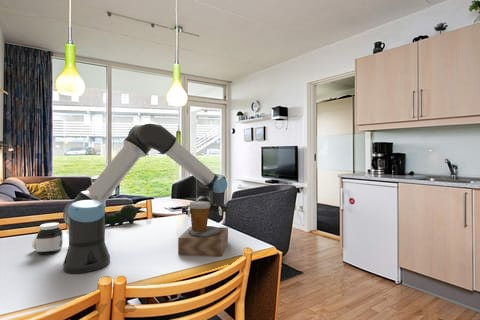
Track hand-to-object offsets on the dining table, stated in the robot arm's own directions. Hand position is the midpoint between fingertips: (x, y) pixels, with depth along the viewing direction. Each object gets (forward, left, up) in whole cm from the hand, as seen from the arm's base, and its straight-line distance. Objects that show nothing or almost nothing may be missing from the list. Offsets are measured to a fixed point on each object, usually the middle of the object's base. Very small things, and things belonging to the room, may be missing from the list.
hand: (205, 213), depth 116 cm
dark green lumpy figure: (-61, +39, -16) cm, 74 cm away
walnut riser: (-1, +3, -16) cm, 17 cm away
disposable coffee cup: (-3, +4, -8) cm, 10 cm away
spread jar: (-67, -8, -16) cm, 69 cm away
